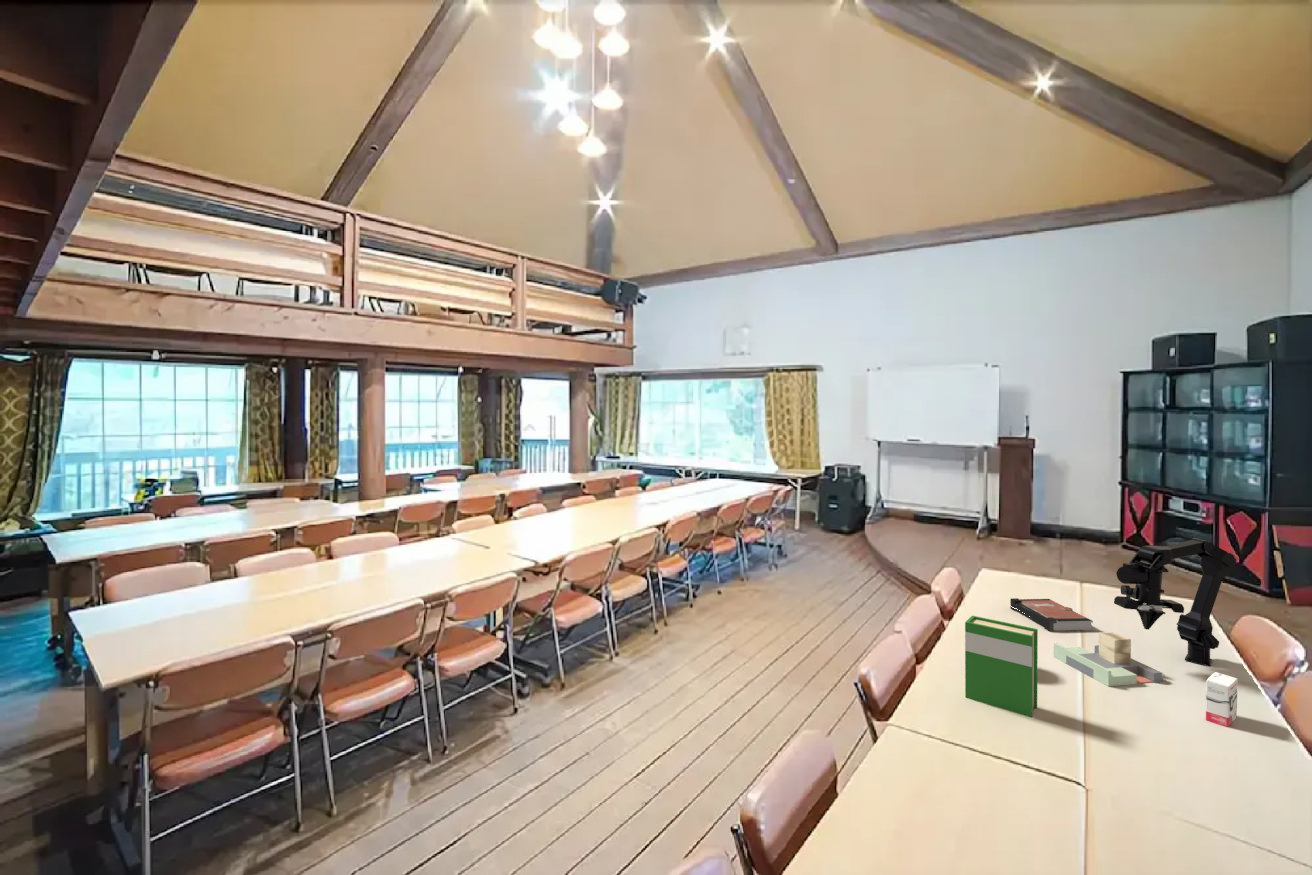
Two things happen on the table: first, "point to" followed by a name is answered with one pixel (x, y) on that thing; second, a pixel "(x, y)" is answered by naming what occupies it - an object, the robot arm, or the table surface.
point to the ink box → (1221, 699)
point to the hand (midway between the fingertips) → (1146, 629)
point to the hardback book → (1001, 664)
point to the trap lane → (1106, 667)
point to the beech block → (1114, 648)
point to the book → (1051, 615)
